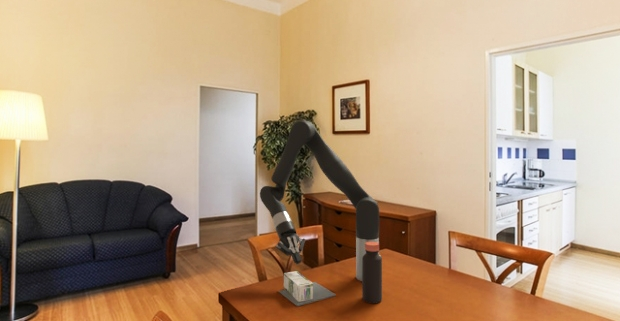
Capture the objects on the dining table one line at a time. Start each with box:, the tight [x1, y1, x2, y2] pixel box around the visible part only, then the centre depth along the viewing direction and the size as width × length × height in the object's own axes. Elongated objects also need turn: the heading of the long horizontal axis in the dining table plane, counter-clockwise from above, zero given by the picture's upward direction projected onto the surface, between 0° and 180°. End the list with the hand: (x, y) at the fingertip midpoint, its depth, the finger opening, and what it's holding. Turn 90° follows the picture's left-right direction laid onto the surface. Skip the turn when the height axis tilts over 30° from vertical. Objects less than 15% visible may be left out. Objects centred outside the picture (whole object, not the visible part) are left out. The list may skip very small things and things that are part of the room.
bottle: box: [361, 242, 383, 304], centre depth 118 cm, size 7×7×20 cm
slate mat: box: [278, 281, 336, 307], centre depth 124 cm, size 16×14×1 cm
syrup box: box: [283, 270, 313, 302], centre depth 123 cm, size 6×6×14 cm
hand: (298, 262), depth 128 cm, fingers closed
